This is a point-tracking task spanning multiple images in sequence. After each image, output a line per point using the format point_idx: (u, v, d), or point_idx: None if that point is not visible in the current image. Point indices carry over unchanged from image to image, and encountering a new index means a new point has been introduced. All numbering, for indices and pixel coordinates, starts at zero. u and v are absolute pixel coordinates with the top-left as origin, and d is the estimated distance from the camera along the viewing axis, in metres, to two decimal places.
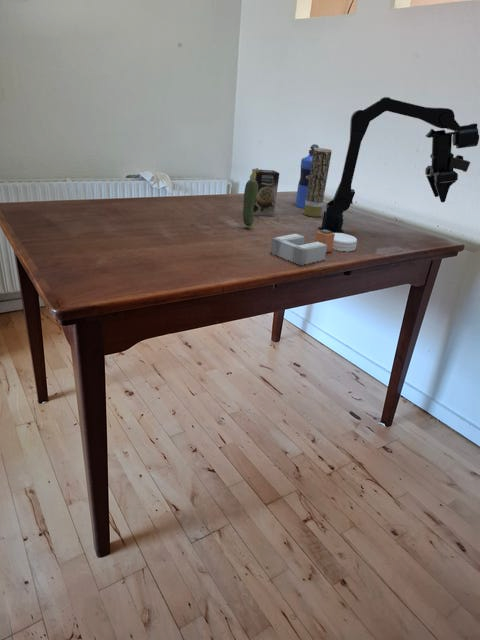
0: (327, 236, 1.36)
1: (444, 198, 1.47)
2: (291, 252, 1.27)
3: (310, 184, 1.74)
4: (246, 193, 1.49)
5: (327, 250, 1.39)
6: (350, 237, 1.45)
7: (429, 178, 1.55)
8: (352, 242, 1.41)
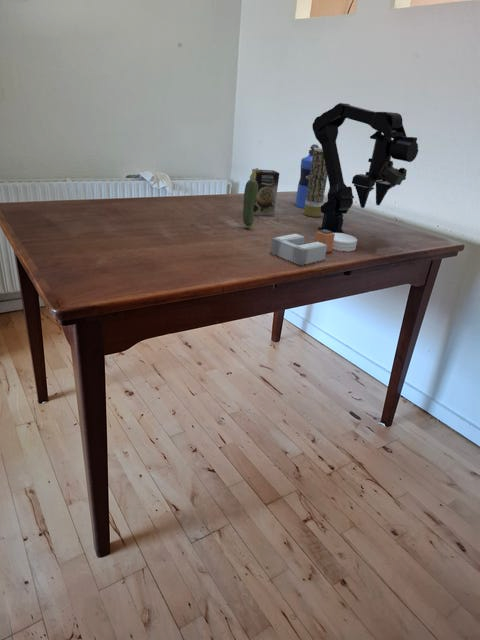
0: (327, 236, 1.36)
1: (363, 204, 1.44)
2: (291, 252, 1.27)
3: (310, 184, 1.74)
4: (246, 193, 1.49)
5: (327, 250, 1.39)
6: (350, 237, 1.45)
7: (376, 184, 1.50)
8: (352, 242, 1.41)
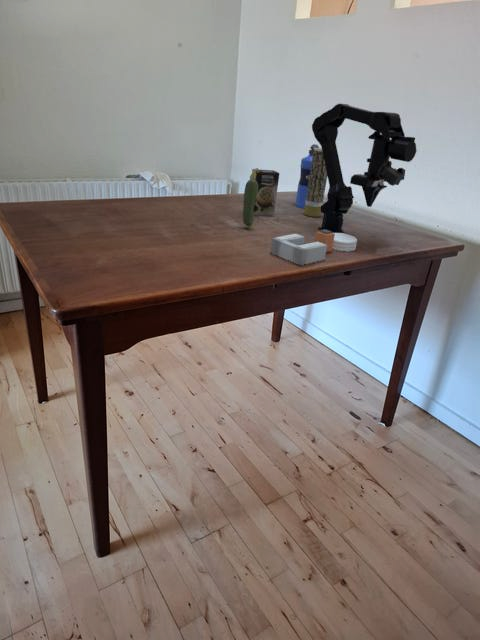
0: (327, 236, 1.36)
1: (369, 203, 1.47)
2: (291, 252, 1.27)
3: (310, 184, 1.74)
4: (246, 193, 1.49)
5: (327, 250, 1.39)
6: (350, 237, 1.45)
7: None
8: (352, 242, 1.41)
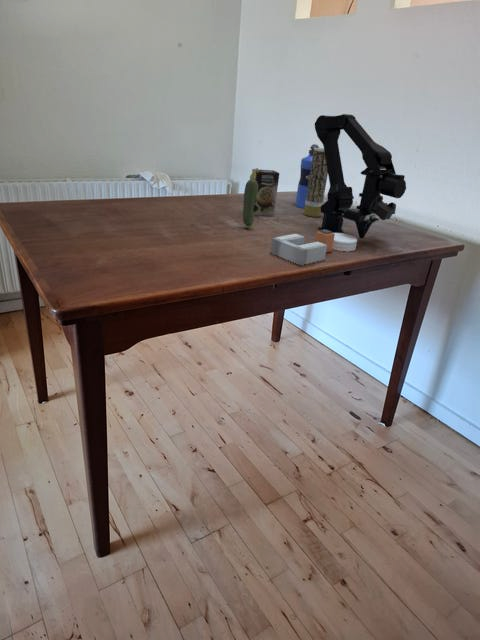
0: (327, 236, 1.36)
1: (361, 235, 1.51)
2: (291, 252, 1.27)
3: (310, 184, 1.74)
4: (246, 193, 1.49)
5: (327, 250, 1.39)
6: (350, 237, 1.45)
7: None
8: (352, 242, 1.41)
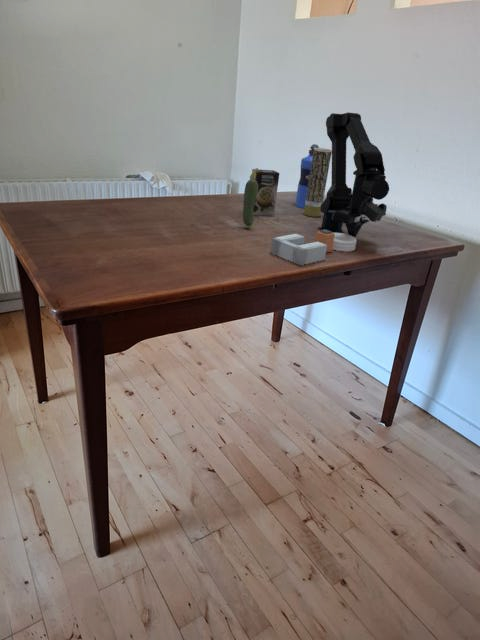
0: (327, 236, 1.36)
1: None
2: (291, 252, 1.27)
3: (310, 184, 1.74)
4: (246, 193, 1.49)
5: (327, 250, 1.39)
6: (349, 237, 1.45)
7: None
8: (351, 242, 1.41)
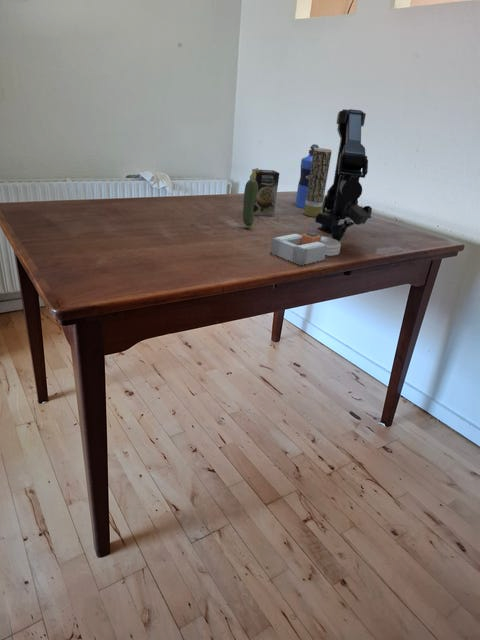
0: (313, 239, 1.32)
1: None
2: (291, 252, 1.27)
3: (310, 184, 1.74)
4: (246, 193, 1.49)
5: None
6: (334, 241, 1.40)
7: None
8: (336, 246, 1.36)
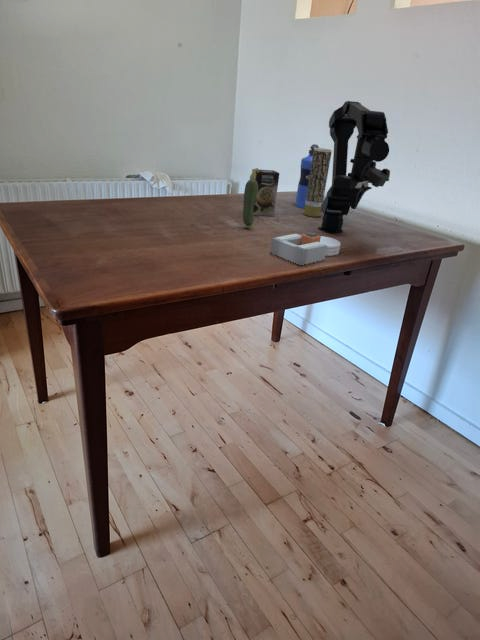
0: (313, 239, 1.31)
1: (353, 205, 1.41)
2: (291, 252, 1.27)
3: (310, 184, 1.74)
4: (246, 193, 1.49)
5: None
6: (333, 240, 1.40)
7: None
8: (335, 246, 1.36)
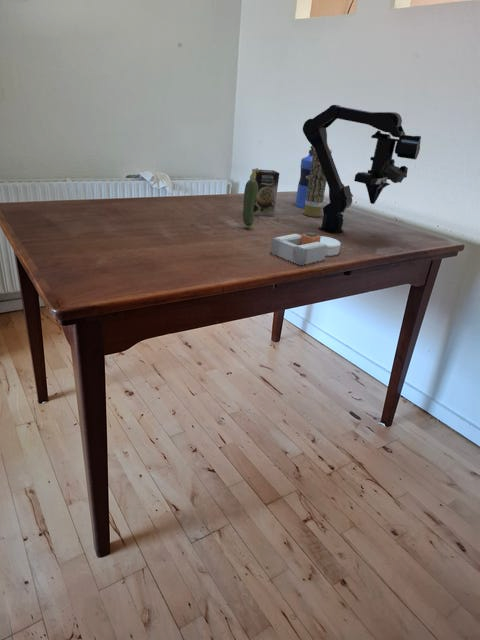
0: (313, 239, 1.31)
1: (372, 200, 1.51)
2: (291, 252, 1.27)
3: (310, 184, 1.74)
4: (246, 193, 1.49)
5: None
6: (333, 240, 1.40)
7: None
8: (335, 246, 1.36)
